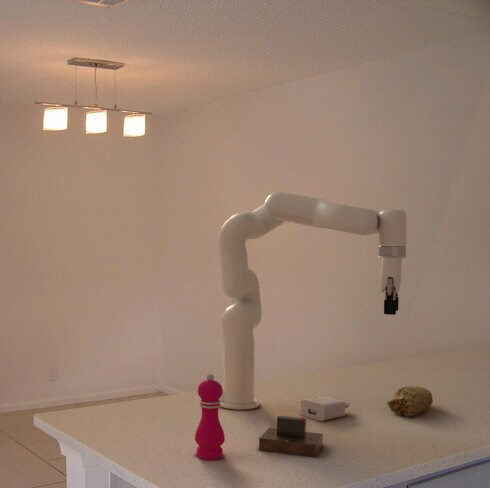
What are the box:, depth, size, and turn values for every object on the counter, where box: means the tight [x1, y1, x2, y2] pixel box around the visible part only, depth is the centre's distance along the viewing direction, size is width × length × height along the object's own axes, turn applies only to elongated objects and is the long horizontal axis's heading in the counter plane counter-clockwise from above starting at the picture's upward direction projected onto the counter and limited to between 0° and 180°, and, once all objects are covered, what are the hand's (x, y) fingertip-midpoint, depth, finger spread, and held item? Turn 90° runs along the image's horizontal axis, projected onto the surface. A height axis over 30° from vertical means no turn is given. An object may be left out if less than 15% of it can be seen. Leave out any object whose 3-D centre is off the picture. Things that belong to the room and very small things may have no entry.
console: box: [258, 427, 324, 458], centre depth 182 cm, size 14×11×3 cm
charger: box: [300, 395, 350, 422], centre depth 214 cm, size 5×9×15 cm
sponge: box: [386, 386, 434, 417], centre depth 220 cm, size 13×8×20 cm
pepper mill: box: [194, 373, 226, 461], centre depth 176 cm, size 7×7×20 cm
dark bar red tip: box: [276, 415, 307, 438], centre depth 182 cm, size 7×2×5 cm, turn 68°
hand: (391, 312), depth 207 cm, fingers open, 9 cm apart
